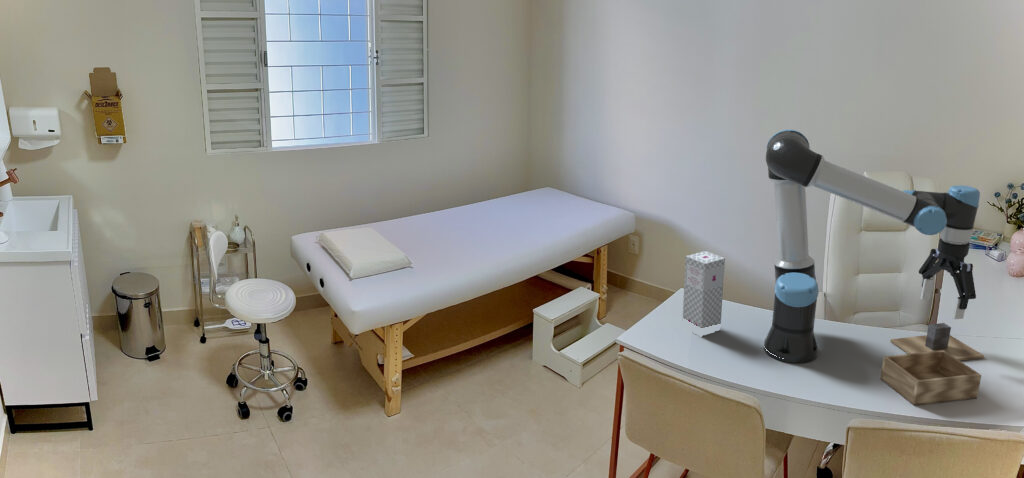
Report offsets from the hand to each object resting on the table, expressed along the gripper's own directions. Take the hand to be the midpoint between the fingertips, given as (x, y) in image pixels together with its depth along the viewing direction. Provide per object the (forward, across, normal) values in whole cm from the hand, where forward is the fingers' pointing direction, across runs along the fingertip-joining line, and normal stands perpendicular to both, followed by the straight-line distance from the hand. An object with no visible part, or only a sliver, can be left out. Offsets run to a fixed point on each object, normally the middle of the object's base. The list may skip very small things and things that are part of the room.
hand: (940, 308), depth 209 cm
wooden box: (+14, -19, +16) cm, 29 cm away
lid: (+13, 0, -1) cm, 13 cm away
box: (+15, +28, +61) cm, 69 cm away
